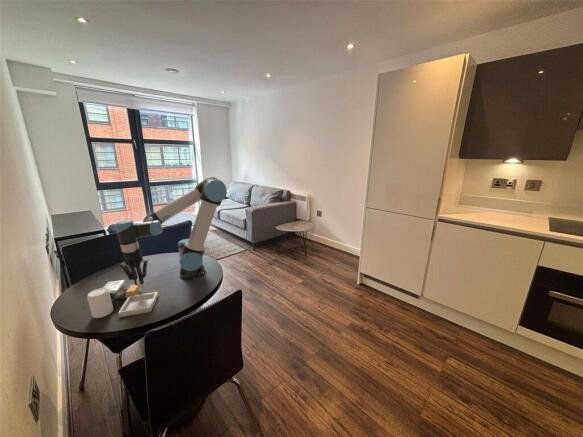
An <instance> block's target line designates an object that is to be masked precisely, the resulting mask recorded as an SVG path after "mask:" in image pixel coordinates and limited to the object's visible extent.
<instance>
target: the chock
mask: <svg viewBox="0 0 583 437" xmlns="http://www.w3.org/2000/svg"><path fill="white" fill-rule="evenodd" d="M141 292H142V291H139V290H138V286H137V285H135V283H134V284H130V285H129V287H128V288H127V291H126V294H127V295H126V298H127V299H128V297H129V296H133V295H140V294H141Z"/></svg>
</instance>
